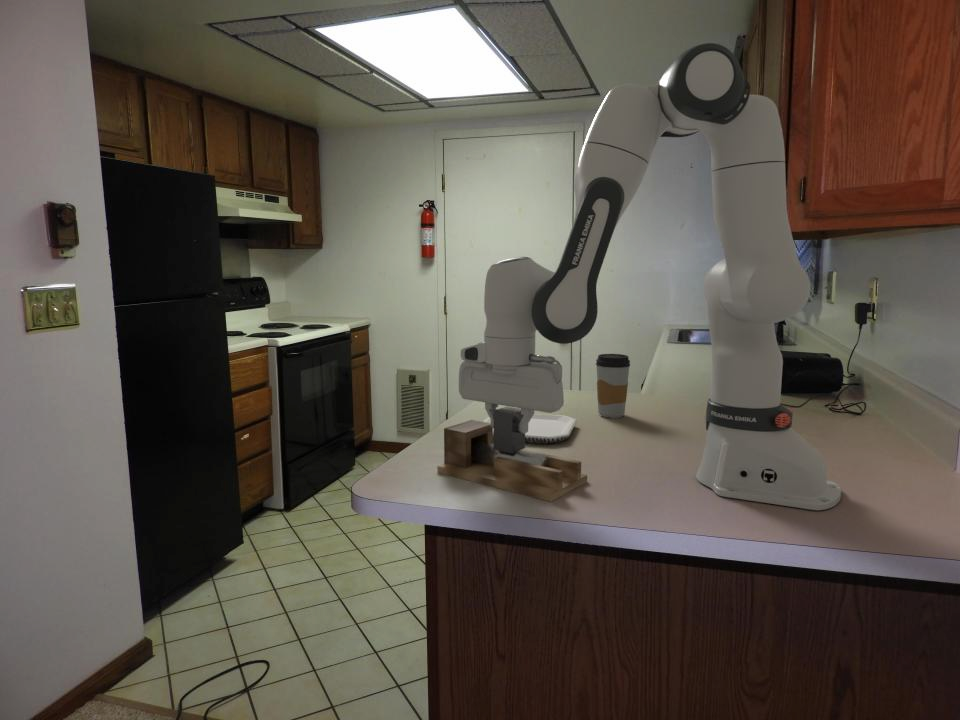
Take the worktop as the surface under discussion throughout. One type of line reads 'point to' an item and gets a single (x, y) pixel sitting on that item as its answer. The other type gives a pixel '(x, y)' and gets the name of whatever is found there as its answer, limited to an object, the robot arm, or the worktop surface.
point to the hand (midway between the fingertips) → (509, 430)
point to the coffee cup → (612, 384)
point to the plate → (547, 428)
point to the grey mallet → (506, 441)
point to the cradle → (506, 465)
